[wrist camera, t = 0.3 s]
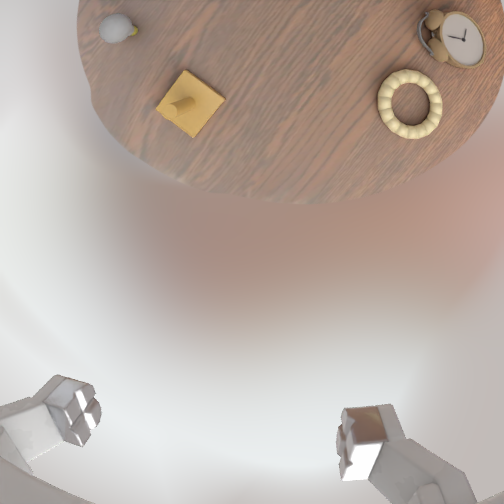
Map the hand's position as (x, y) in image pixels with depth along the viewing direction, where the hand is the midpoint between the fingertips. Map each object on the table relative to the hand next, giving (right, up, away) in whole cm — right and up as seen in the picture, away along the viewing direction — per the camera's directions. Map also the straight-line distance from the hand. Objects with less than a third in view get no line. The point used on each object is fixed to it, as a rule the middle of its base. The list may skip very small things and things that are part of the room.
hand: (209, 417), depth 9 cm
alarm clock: (+37, +44, +29) cm, 64 cm away
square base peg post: (-9, +31, +42) cm, 53 cm away
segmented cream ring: (+29, +31, +36) cm, 56 cm away
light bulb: (-20, +45, +34) cm, 60 cm away
